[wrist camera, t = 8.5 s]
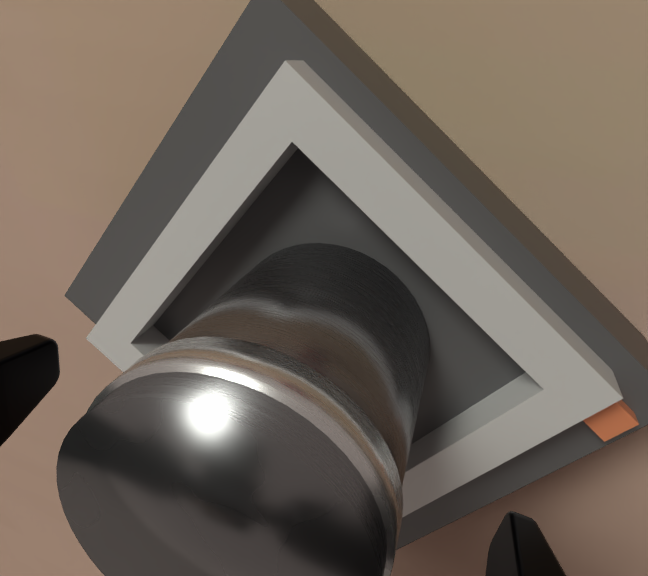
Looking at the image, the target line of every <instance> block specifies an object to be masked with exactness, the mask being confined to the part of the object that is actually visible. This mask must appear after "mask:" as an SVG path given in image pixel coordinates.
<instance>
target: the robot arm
mask: <svg viewBox="0 0 648 576" xmlns="http://www.w3.org/2000/svg"><path fill="white" fill-rule="evenodd" d="M59 374H60V368H59V354H58V345H57V343H56V341H54V340H53V339H50V338H48V337H45V336H42V335H39V334H33V335H28V336H24V337H19V338H14V339H10V340H5V341H1V342H0V446H1V445H2V444H3V443H4V442H5V441H6V440H7V439H8V438H9V437H10V436H11V434H12V433H13V432H14V431H15V430H16V429H17V428H18V426H19V425H20V424H21V423H22V422H23V421H24V420H25V418H26V417H27V416H28V415H29V414H30V413H31V412H32V410H33V409H34V408H35V407H36V406H37V405H38V403H39V402H40V401H41V400H42V399H43V398H44V397H45V395H46V394H47V393H48V392H49V391H50V390H51V389H52V387H53V386H54V385H55V384H56V382H57V380H58V378H59ZM486 576H566V575H565V573H564V571H563V569H562V567H561V566H560V564H559V562H558V560H557V559H556V557H555V555H554V553H553V552H552V550H551V548H550V546H549V544H548V543H547V541H546V539H545V537H544V536H543V534H542V532H541V530H540V528H539V527H538V525H537V523H536V522H535V521H534V520H533V519H532V518H529V517H527V516H524V515H521V514H519V513H516V512H513V511H510V512H508V513H507V514H506V515H505V517H504V519H503V521H502V522H501V524H500V526H499V528H498V530H497V532H496V534H495V536H494V538H493V539H492V542H491V544H490V548H489V552H488V559H487V568H486Z"/></svg>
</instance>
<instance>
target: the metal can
mask: <svg viewBox="0 0 648 576" xmlns="http://www.w3.org/2000/svg"><path fill="white" fill-rule="evenodd" d="M429 353H430V342H429V333H428V328H427V324H426V321H425V318H424V315H423V313H422V310H421V308H420V307H419V305H418V303H417V301H416V299H415V298H414V296H413V295H412V293H411V292H410V290H409V289H408V288H407V286H406V285H405V284H404V283H403V282H402V281H401V280H400V279H399V278H398V277H397V276H396V275H395V274H394V273H393V272H391V271H390V270H389V269H388V268H387V267H385V266H384V265H382V264H381V263H379V262H378V261H376V260H375V259H373V258H371V257H369V256H367V255H365V254H363V253H361V252H358V251H356V250H353V249H350V248H347V247H343V246H339V245H334V244H325V243H306V244H300V245H294V246H291V247H287V248H284V249H281V250H279V251H277V252H275V253H273V254H271V255H269V256H268V257H267V258H265V259H264V260H262V261H261V262H260V263H259V264H257V265H256V266H255V267H254V268H253V269H252V270H250V271H249V272H248V273H247V274H246V275H245V276H244V277H242V278H241V279H240V280H239V281H238V282H237V283H236V284H234V285H233V286H232V287H231V288H230V289H229V290H228V291H226V292H225V293H224V294H223V295H222V296H221V297H219V298H218V299H217V300H216V301H215V302H214V303H213V304H211V305H210V306H209V307H208V308H207V309H206V310H205V311H203V312H202V313H201V314H200V315H199V316H198V317H197V318H195V319H194V320H193V321H192V322H191V323H190V324H188V325H187V326H186V327H185V328H184V329H183V330H182V331H180V332H179V333H178V334H177V335H176V336H175V337H174V338H172V339H171V340H170V341H169V342H168V343H166V344H164V345H162V346H160V347H158V348H155V349H153V350H151V351H150V352H149V353H147V354H146V355H144V356H143V357H141V358H140V359H139V360H137V361H136V362H135V363H134V364H133V365H132V366H130V367H129V368H128V369H127V370H126V371H124V372H123V373H122V374H121V375H120V376H119V377H117V378H116V379H115V380H114V381H113V382H111V383H110V384H109V385H108V386H107V387H106V388H105V389H104V390H103V391H102V392H101V393H100V394H99V395H98V396H97V397H96V398H95V399H94V401H93V403H92V404H91V406H90V407H89V409H88V411H87V413H86V414H85V415H84V416H83V417H82V418H81V419H80V420H79V421H78V422H77V423H76V424H75V425H74V426H73V427H72V428H71V429H70V431H69V432H68V434H67V435H66V437H65V438H64V440H63V443H62V446H61V448H60V451H59V455H58V461H57V486H58V491H59V497H60V500H61V504H62V507H63V510H64V513H65V515H66V518H67V520H68V522H69V525H70V527H71V529H72V531H73V532H74V534H75V536H76V538H77V539H78V541H79V543H80V544H81V546H82V547H83V549H84V550H85V552H86V553H87V555H88V556H89V558H90V559H91V560H92V561H93V563H94V564H95V565H96V566H97V567H98V569H99V570H100V571H101V572H102V573H103V574H104V575H105V576H390V574H391V570H392V567H393V563H394V558H395V552H396V547H397V542H398V537H399V532H400V527H401V522H402V514H403V494H402V485H403V480H404V475H405V471H406V466H407V461H408V457H409V452H410V447H411V442H412V438H413V433H414V428H415V424H416V419H417V414H418V409H419V405H420V400H421V395H422V391H423V386H424V381H425V376H426V372H427V367H428V362H429Z"/></svg>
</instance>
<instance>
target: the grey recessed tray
mask: <svg viewBox="0 0 648 576" xmlns="http://www.w3.org/2000/svg"><path fill="white" fill-rule="evenodd" d="M306 243H325V244H334V245H339V246H343V247H347V248H350V249H353V250H356V251H358V252H361V253H363V254H365V255H367V256H369V257H371V258H373V259H375V260H376V261H378V262H379V263H381V264H382V265H384V266H385V267H387V268H388V269H389V270H390V271H391V272H393V273H394V274H395V275H396V276H397V277H398V278H399V279H400V280H401V281H402V282H403V283H404V284H405V285H406V286H407V288H408V289H409V290H410V292H411V293H412V295H413V296H414V298H415V299H416V301H417V303H418V305H419V307H420V308H421V310H422V313H423V315H424V318H425V321H426V324H427V328H428V333H429V342H430V353H429V362H428V367H427V372H426V376H425V381H424V386H423V391H422V395H421V400H420V405H419V409H418V414H417V419H416V424H415V428H414V433H413V438H412V442H411V447H410V452H409V457H408V461H407V466H406V471H405V475H404V480H403V485H402V494H403V514H402V522H401V527H400V532H399V537H398V542H397V547H396V550H397V549H399V548H401V547H403V546H405V545H407V544H409V543H411V542H413V541H415V540H417V539H419V538H421V537H423V536H425V535H427V534H429V533H431V532H433V531H435V530H437V529H439V528H441V527H443V526H445V525H447V524H449V523H451V522H453V521H455V520H457V519H459V518H461V517H463V516H465V515H467V514H469V513H471V512H473V511H475V510H477V509H479V508H481V507H483V506H485V505H487V504H489V503H491V502H493V501H495V500H498V499H500V498H502V497H504V496H506V495H508V494H510V493H512V492H514V491H516V490H518V489H520V488H522V487H524V486H526V485H528V484H530V483H532V482H534V481H536V480H538V479H540V478H542V477H544V476H546V475H548V474H550V473H552V472H554V471H556V470H558V469H560V468H562V467H564V466H566V465H568V464H570V463H572V462H574V461H576V460H578V459H580V458H582V457H584V456H586V455H588V454H590V453H592V452H594V451H596V450H598V449H600V448H602V447H604V446H606V445H608V444H610V443H612V442H614V441H616V440H618V439H620V438H622V437H624V436H626V435H628V434H630V433H632V432H634V431H636V430H638V429H640V428H642V427H644V426H646V425H648V342H647V340H646V338H645V337H644V336H643V335H642V334H641V333H640V332H639V331H638V330H637V329H636V328H635V327H634V326H633V325H632V324H631V323H630V322H629V321H628V320H627V319H626V318H625V317H624V316H623V315H622V314H621V312H620V311H619V310H618V309H617V308H616V307H615V306H614V305H613V304H612V303H611V302H610V301H609V300H608V299H607V298H606V297H605V296H604V295H603V294H602V293H601V292H600V291H599V290H598V289H597V288H596V287H595V286H594V285H593V284H592V283H591V282H590V281H589V280H588V279H587V278H586V277H585V276H584V275H583V274H582V273H581V272H580V271H579V270H578V269H577V268H576V267H575V266H574V265H573V264H572V263H571V262H570V261H569V260H568V259H567V258H566V257H565V256H564V254H563V253H562V252H561V251H560V250H559V249H558V248H557V247H556V246H555V245H554V244H553V243H552V242H551V241H550V240H549V239H548V238H547V237H546V236H545V235H544V234H543V233H542V232H541V231H540V230H539V229H538V228H537V227H536V226H535V225H534V224H533V223H532V222H531V221H530V220H529V219H528V218H527V217H526V216H525V215H524V214H523V213H522V212H521V211H520V210H519V209H518V208H517V207H516V206H515V205H514V204H513V203H512V202H511V201H510V200H509V199H508V198H507V197H506V195H505V194H504V193H503V192H502V191H501V190H500V189H499V188H498V187H497V186H496V185H495V184H494V183H493V182H492V181H491V180H490V179H489V178H488V177H487V176H486V175H485V174H484V173H483V172H482V171H481V170H480V169H479V168H478V167H477V166H476V165H475V164H474V163H473V162H472V161H471V160H470V159H469V158H468V157H467V156H466V155H465V154H464V153H463V152H462V151H461V150H460V149H459V148H458V147H457V146H456V145H455V144H454V143H453V142H452V141H451V140H450V139H449V138H448V136H447V135H446V134H445V133H444V132H443V131H442V130H441V129H440V128H439V127H438V126H437V125H436V124H435V123H434V122H433V121H432V120H431V119H430V118H429V117H428V116H427V115H426V114H425V113H424V112H423V111H422V110H421V109H420V108H419V107H418V106H417V105H416V104H415V103H414V102H413V101H412V100H411V99H410V98H409V97H408V96H407V95H406V94H405V93H404V92H403V91H402V90H401V89H400V88H399V87H398V86H397V85H396V84H395V83H394V82H393V81H392V80H391V79H390V77H389V76H388V75H387V74H386V73H385V72H384V71H383V70H382V69H381V68H380V67H379V66H378V65H377V64H376V63H375V62H374V61H373V60H372V59H371V58H370V57H369V56H368V55H367V54H366V53H365V52H364V51H363V50H362V49H361V48H360V47H359V46H358V45H357V44H356V43H355V42H354V41H353V40H352V39H351V38H350V37H349V36H348V35H347V34H346V33H345V32H344V31H343V30H342V29H341V28H340V27H339V26H338V25H337V24H336V23H335V22H334V21H333V20H332V18H331V17H330V16H329V15H328V14H327V13H326V12H325V11H324V10H323V9H322V8H321V7H320V6H319V5H318V4H317V3H316V2H315V1H314V0H251V1H250V2H249V4H248V5H247V7H246V9H245V10H244V12H243V13H242V15H241V16H240V18H239V20H238V21H237V23H236V24H235V26H234V28H233V29H232V31H231V32H230V34H229V36H228V37H227V39H226V40H225V42H224V43H223V45H222V47H221V48H220V50H219V51H218V53H217V55H216V56H215V58H214V59H213V61H212V62H211V64H210V66H209V67H208V69H207V70H206V72H205V74H204V75H203V77H202V78H201V80H200V81H199V83H198V85H197V86H196V88H195V89H194V91H193V93H192V94H191V96H190V97H189V99H188V100H187V102H186V104H185V105H184V107H183V108H182V110H181V112H180V113H179V115H178V116H177V118H176V120H175V121H174V123H173V124H172V126H171V127H170V129H169V131H168V132H167V134H166V135H165V137H164V139H163V140H162V142H161V143H160V145H159V146H158V148H157V150H156V151H155V153H154V154H153V156H152V158H151V159H150V161H149V162H148V164H147V165H146V167H145V169H144V170H143V172H142V173H141V175H140V177H139V178H138V180H137V181H136V183H135V184H134V186H133V188H132V189H131V191H130V192H129V194H128V196H127V197H126V199H125V200H124V202H123V203H122V205H121V207H120V208H119V210H118V211H117V213H116V215H115V216H114V218H113V219H112V221H111V223H110V224H109V226H108V227H107V229H106V230H105V232H104V234H103V235H102V237H101V238H100V240H99V242H98V243H97V245H96V246H95V248H94V249H93V251H92V253H91V254H90V256H89V257H88V259H87V261H86V262H85V264H84V265H83V267H82V268H81V270H80V272H79V273H78V275H77V276H76V278H75V280H74V281H73V283H72V284H71V286H70V287H69V289H68V291H67V292H66V294H65V295H64V296H65V297H67V298H68V299H69V300H70V301H71V302H72V303H73V304H74V305H75V306H76V307H78V308H79V309H80V310H81V311H82V312H83V313H84V314H85V315H86V316H87V317H88V318H90V319H91V320H92V321H93V322H94V323H95V324H96V325H95V326H94V328H93V329H92V331H91V332H90V333H89V335H88V336H87V338H86V339H87V340H88V341H89V342H91V343H92V344H93V345H94V346H95V347H96V348H97V349H98V350H99V351H100V352H102V353H103V354H104V355H105V356H106V357H107V358H108V359H109V360H110V361H111V362H113V363H114V364H115V365H116V366H117V367H118V368H119V369H120V370H121V371H122V372H124V371H126V370H127V369H128V368H129V367H130V366H132V365H133V364H134V363H135V362H136V361H137V360H139V359H140V358H141V357H143V356H144V355H146V354H147V353H149V352H150V351H151V350H153V349H155V348H158V347H160V346H162V345H164V344H166V343H168V342H169V341H170V340H171V339H172V338H174V337H175V336H176V335H177V334H178V333H179V332H180V331H182V330H183V329H184V328H185V327H186V326H187V325H188V324H190V323H191V322H192V321H193V320H194V319H195V318H197V317H198V316H199V315H200V314H201V313H202V312H203V311H205V310H206V309H207V308H208V307H209V306H210V305H211V304H213V303H214V302H215V301H216V300H217V299H218V298H219V297H221V296H222V295H223V294H224V293H225V292H226V291H228V290H229V289H230V288H231V287H232V286H233V285H234V284H236V283H237V282H238V281H239V280H240V279H241V278H242V277H244V276H245V275H246V274H247V273H248V272H249V271H250V270H252V269H253V268H254V267H255V266H256V265H257V264H259V263H260V262H261V261H262V260H264V259H265V258H267V257H268V256H269V255H271V254H273V253H275V252H277V251H279V250H281V249H284V248H287V247H291V246H294V245H300V244H306Z"/></svg>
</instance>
